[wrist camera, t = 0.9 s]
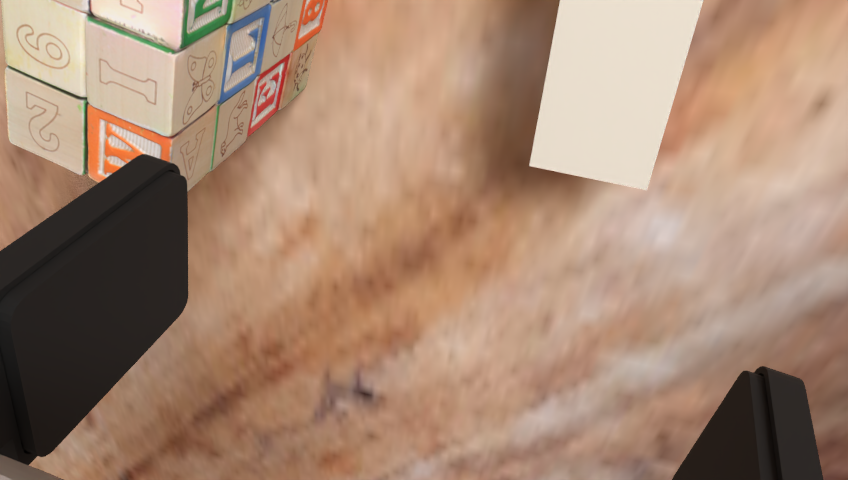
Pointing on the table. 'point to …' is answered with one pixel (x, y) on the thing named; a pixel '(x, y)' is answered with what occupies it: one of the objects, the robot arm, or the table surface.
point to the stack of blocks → (151, 77)
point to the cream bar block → (612, 87)
